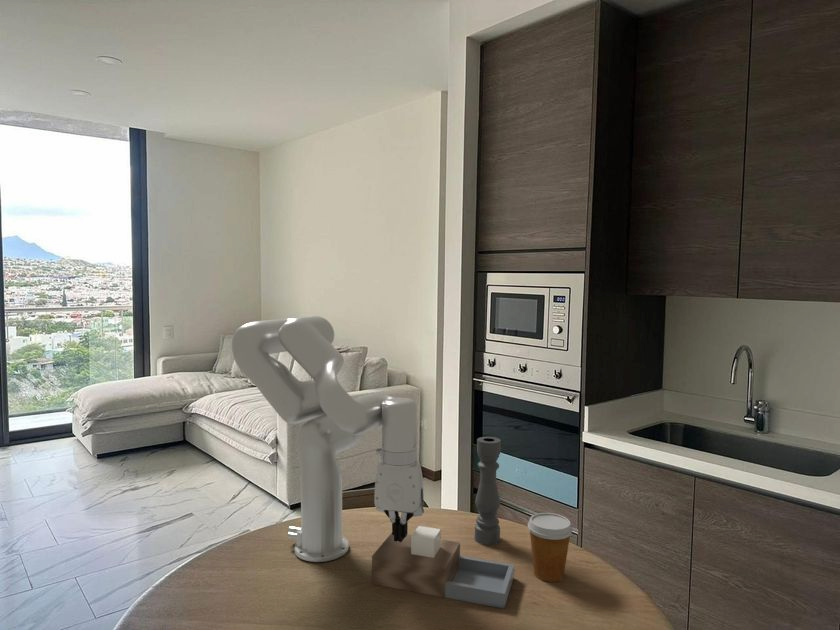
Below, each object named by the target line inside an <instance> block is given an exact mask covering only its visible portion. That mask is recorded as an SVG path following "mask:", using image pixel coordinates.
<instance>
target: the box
mask: <svg viewBox="0 0 840 630" xmlns="http://www.w3.org/2000/svg"><path fill="white" fill-rule="evenodd" d="M514 579H515V564H514V563H513V564H512V563H508V562H500V561H495V560H489V559H484V558H478V557H477V558H475V557H470V556H464V555H460V556H459V569H458V571H457V573H456V575H455V577H454V579H453V581H452V582H451V581H446V583H445V597H444V598H445V599H451V600H456V601H463V602H467V603H472V604H478V605H484V606H488V607H494V608H499V609H503V610H505V608H506V605H507V602H508V599H509V596H510V592H511V589H512V586H513V582H514Z"/></svg>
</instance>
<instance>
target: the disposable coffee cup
mask: <svg viewBox="0 0 840 630" xmlns="http://www.w3.org/2000/svg"><path fill="white" fill-rule="evenodd" d="M527 528H528V530H529V535H530V544H531V545H530V546H531V555H532V564H533V565H532V566H533V575H535V577H536V578H537V579H539V580H541V581H545V582H549V583H553V582H555V583H556V582H559V581H562V580H563V579H564V578H565V577H564V575H565V568H566V563H567V557H568V550H569V546H570V545H569V543H570V538H571V535H572V532H573V526H572V524H571V521H570V519H568V518H567V517H566V516H564V515H561V514H558V513H552V512H540V513H535V514H533V515H531V516H530V517H529V521H528V522H527Z"/></svg>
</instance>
